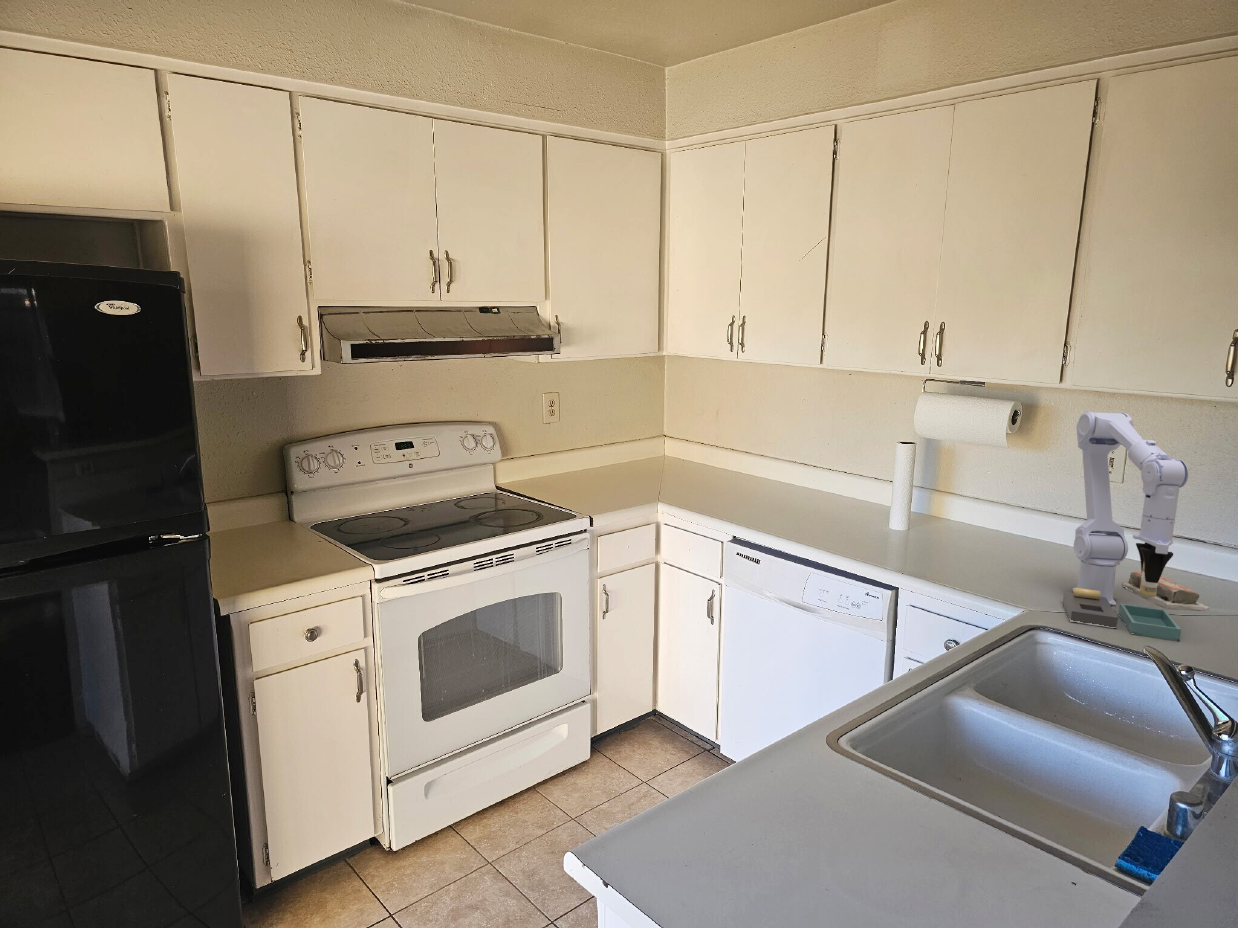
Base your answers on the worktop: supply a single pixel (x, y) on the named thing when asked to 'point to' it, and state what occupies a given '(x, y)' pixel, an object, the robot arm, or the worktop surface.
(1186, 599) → the packaged product
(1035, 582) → the worktop surface
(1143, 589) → the cylinder
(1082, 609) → the fuse board
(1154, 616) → the parts tray
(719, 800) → the worktop surface
